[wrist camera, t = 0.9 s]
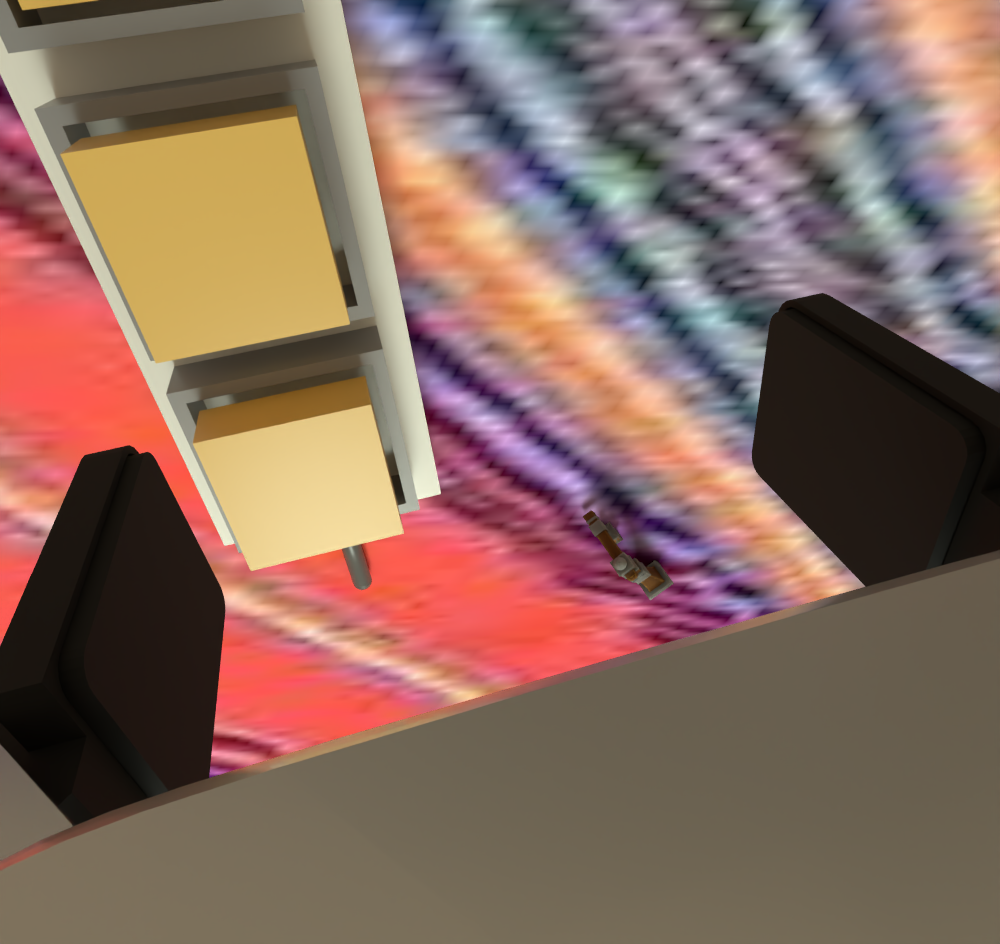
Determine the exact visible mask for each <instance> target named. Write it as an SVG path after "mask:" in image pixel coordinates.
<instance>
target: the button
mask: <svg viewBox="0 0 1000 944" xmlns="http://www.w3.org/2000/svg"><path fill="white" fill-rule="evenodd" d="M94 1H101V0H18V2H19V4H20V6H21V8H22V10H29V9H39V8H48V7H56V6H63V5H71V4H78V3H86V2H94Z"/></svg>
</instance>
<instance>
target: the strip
mask: <svg viewBox="0 0 1000 944" xmlns="http://www.w3.org/2000/svg"><path fill="white" fill-rule="evenodd" d="M0 74H1V77H2V79H3V81H4V83H5V85H6V87H7V89H8V91H9V93H10V95H11V98H12V100H13V102H14V104H15V106H16V108H17V110H18V112H19V114H20V117H21V119H22V121H23V123H24V125H25V127H26V129H27V131H28V133H29V135H30V138H31V140H32V142H33V144H34V146H35V148H36V150H37V152H38V154H39V156H40V159H41V161H42V163H43V165H44V167H45V169H46V171H47V173H48V175H49V178H50V180H51V182H52V184H53V186H54V188H55V190H56V192H57V194H58V196H59V199H60V201H61V203H62V205H63V207H64V209H65V211H66V213H67V215H68V217H69V220H70V222H71V224H72V226H73V228H74V230H75V232H76V234H77V236H78V238H79V241H80V243H81V245H82V247H83V249H84V251H85V253H86V255H87V257H88V260H89V262H90V264H91V266H92V268H93V270H94V272H95V274H96V276H97V278H98V281H99V283H100V285H101V287H102V289H103V291H104V293H105V295H106V297H107V299H108V302H109V304H110V306H111V308H112V310H113V312H114V314H115V316H116V318H117V320H118V323H119V325H120V327H121V329H122V331H123V333H124V335H125V337H126V339H127V342H128V344H129V346H130V348H131V350H132V352H133V354H134V356H135V358H136V360H137V363H138V365H139V367H140V369H141V371H142V373H143V375H144V377H145V379H146V381H147V384H148V386H149V388H150V390H151V392H152V394H153V396H154V398H155V400H156V403H157V405H158V407H159V409H160V411H161V413H162V415H163V417H164V419H165V421H166V424H167V426H168V428H169V430H170V432H171V434H172V436H173V438H174V440H175V442H176V445H177V447H178V449H179V451H180V453H181V455H182V457H183V459H184V461H185V463H186V466H187V468H188V470H189V472H190V474H191V476H192V478H193V480H194V482H195V485H196V487H197V489H198V491H199V493H200V495H201V497H202V499H203V501H204V503H205V506H206V508H207V510H208V512H209V514H210V516H211V518H212V520H213V522H214V524H215V527H216V529H217V531H218V533H219V535H220V537H221V539H222V541H223V543H224V546H226V545H230V544H234V543H235V545H236V547H237V549H238V552H239V553H242V550H241V548H240V546H239V544H238V542H237V540H236V537H235V535H234V533H233V531H232V529H231V526H230V524H229V522H228V520H227V518H226V515H225V513H224V511H223V509H222V507H221V505H220V502H219V500H218V498H217V496H216V494H215V491H214V489H213V487H212V485H211V483H210V481H209V478H208V476H207V474H206V472H205V470H204V467H203V465H202V463H201V461H200V459H199V457H198V454H197V452H196V450H195V448H194V446H193V439H194V434H195V430H196V425H197V420H198V415H199V411H202V410H207V409H211V408H216V407H221V406H225V405H230V404H235V403H239V402H244V401H249V400H254V399H258V398H263V397H268V396H272V395H277V394H282V393H286V392H291V391H296V390H301V389H305V388H310V387H315V386H319V385H324V384H329V383H333V382H338V381H343V380H347V379H352V378H357V377H362V376H365V377H366V381H367V385H368V389H369V393H370V397H371V400H372V404H373V408H374V412H375V416H376V420H377V424H378V428H379V432H380V436H381V440H382V444H383V448H384V451H385V455H386V459H387V463H388V467H389V471H390V475H391V479H392V483H393V487H394V491H395V495H396V499H397V503H398V508H399V512H400V514H403V513H407V512H411V511H416V510H420V508H419V504H418V499H422V498H426V497H430V496H434V495H438V494H441V491H440V487H439V482H438V477H437V472H436V467H435V462H434V457H433V452H432V447H431V442H430V437H429V432H428V427H427V423H426V418H425V413H424V408H423V403H422V398H421V393H420V388H419V383H418V378H417V373H416V368H415V364H414V359H413V354H412V349H411V344H410V339H409V334H408V329H407V324H406V319H405V314H404V309H403V304H402V300H401V295H400V290H399V285H398V280H397V275H396V270H395V265H394V260H393V255H392V250H391V245H390V241H389V236H388V231H387V226H386V221H385V216H384V211H383V206H382V201H381V196H380V191H379V186H378V182H377V177H376V172H375V167H374V162H373V157H372V152H371V147H370V142H369V137H368V132H367V127H366V122H365V118H364V113H363V108H362V103H361V98H360V93H359V88H358V83H357V78H356V73H355V68H354V63H353V59H352V54H351V49H350V44H349V39H348V34H347V29H346V24H345V19H344V14H343V9H342V4H341V0H101V1H94V2H86V3H78V4H71V5H63V6H56V7H48V8H39V9H29V10H22V8H21V6H20V4H19V2H18V0H0ZM290 105H296V106H297V110H298V114H299V118H300V122H301V126H302V130H303V134H304V138H305V142H306V145H307V149H308V153H309V157H310V161H311V165H312V169H313V173H314V177H315V181H316V185H317V189H318V193H319V196H320V200H321V204H322V208H323V212H324V216H325V220H326V224H327V228H328V232H329V236H330V240H331V244H332V247H333V251H334V255H335V259H336V263H337V267H338V271H339V275H340V279H341V283H342V287H343V291H344V295H345V298H346V304H347V309H348V315H349V320H350V324H349V325H344V326H339V327H335V328H330V329H325V330H320V331H315V332H310V333H305V334H300V335H295V336H290V337H285V338H280V339H275V340H270V341H265V342H260V343H255V344H250V345H246V346H241V347H236V348H231V349H226V350H221V351H216V352H211V353H206V354H201V355H196V356H191V357H186V358H181V359H176V360H171V361H166V362H161V363H155V360H154V358H153V356H152V354H151V352H150V350H149V347H148V345H147V343H146V341H145V339H144V336H143V334H142V332H141V330H140V328H139V325H138V323H137V321H136V319H135V317H134V315H133V312H132V310H131V308H130V306H129V304H128V301H127V299H126V297H125V295H124V293H123V291H122V288H121V286H120V284H119V282H118V280H117V277H116V275H115V273H114V271H113V269H112V267H111V264H110V262H109V260H108V258H107V256H106V253H105V251H104V249H103V247H102V245H101V242H100V240H99V238H98V236H97V234H96V232H95V229H94V227H93V225H92V223H91V221H90V218H89V216H88V214H87V212H86V210H85V208H84V205H83V203H82V201H81V199H80V197H79V194H78V192H77V190H76V188H75V186H74V184H73V181H72V179H71V177H70V175H69V173H68V170H67V168H66V166H65V164H64V162H63V159H62V157H61V155H60V154H61V153H62V152H63V151H65V150H66V149H67V148H69V147H70V146H71V145H73V144H74V143H75V142H77V141H78V140H79V139H81V138H87V137H93V136H100V135H106V134H112V133H119V132H125V131H131V130H138V129H144V128H150V127H157V126H163V125H169V124H176V123H182V122H189V121H195V120H201V119H208V118H214V117H220V116H227V115H233V114H239V113H246V112H252V111H258V110H265V109H271V108H278V107H284V106H290ZM342 551H343V554H344V557H345V560H346V563H347V566H348V569H349V572H350V575H351V578H352V581H353V584H354V586H355V587H356V588H358V589H360V590H364V589H367V588H368V587H369V586H370V585H371V582H372V579H371V575H370V572H369V569H368V565H367V562H366V559H365V556H364V553H363V549H362V546H361V544H359V545H355V546H351V547H347V548H342Z"/></svg>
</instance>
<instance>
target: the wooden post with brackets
mask: <svg viewBox="0 0 1000 944" xmlns="http://www.w3.org/2000/svg"><path fill="white" fill-rule="evenodd" d="M583 518H584V519H585V520H586V523H587V524H589V528H590V530H591V531H592V533H593V534H594V535H595V537H597V538H598V539H599V540H600V541H601V543H602V544H603V546H604V547H605V549H606V550H607V551H608V553H609V554H610V556H611V557H612V559H613V560H612V561H611V562H610V563H611V565H612V566H613V568H614V569H615V570H616V572H617V573H618V575H619V576H622V577H624V578H625V579H627V580H629V581H631V582H633V583H634V582H636V583H637V584H639V585H640V586H641V588H642V589H643V591H644V592H645V593H646V595H647V596H648V598H649V599H650V600H651V599H653V598H654V597H655V596H657V595H658V594H660V593H661V592H662V591H664V590H665V589H667V588H668V587H669V586H671V585H672V584H673V582H672V580H671V579H670V578H669V576H668V575H667V574H666V572H665V571H664V569H663V568H662V567H661V565H660V564H659V562H656V561H653V562H652V563H651V564H649V565H648V566H647V567H645V566H644V564H643V563H642V562H639V561H638V560H637V559H635V558H634V559H633V560H632V558H631V557H630V556H629V555H626V554H625V553H624V552H623V553H622V551H621V550H620V548H619V547H618V546H617V544H618V543H619V542H620V541H622V540H623V538H622V537H621V536H620V534H619V533H618V531H617V530H616V529H615V528H613V526H612V525H611V523H610V522H608V523H607V524H606V525H604V523H603V522H602V521H600V520H599V518H598V517H597V516H596V514H595V513H594V512H593V511H589V512H588V513H587V514H585V515H584V516H583Z"/></svg>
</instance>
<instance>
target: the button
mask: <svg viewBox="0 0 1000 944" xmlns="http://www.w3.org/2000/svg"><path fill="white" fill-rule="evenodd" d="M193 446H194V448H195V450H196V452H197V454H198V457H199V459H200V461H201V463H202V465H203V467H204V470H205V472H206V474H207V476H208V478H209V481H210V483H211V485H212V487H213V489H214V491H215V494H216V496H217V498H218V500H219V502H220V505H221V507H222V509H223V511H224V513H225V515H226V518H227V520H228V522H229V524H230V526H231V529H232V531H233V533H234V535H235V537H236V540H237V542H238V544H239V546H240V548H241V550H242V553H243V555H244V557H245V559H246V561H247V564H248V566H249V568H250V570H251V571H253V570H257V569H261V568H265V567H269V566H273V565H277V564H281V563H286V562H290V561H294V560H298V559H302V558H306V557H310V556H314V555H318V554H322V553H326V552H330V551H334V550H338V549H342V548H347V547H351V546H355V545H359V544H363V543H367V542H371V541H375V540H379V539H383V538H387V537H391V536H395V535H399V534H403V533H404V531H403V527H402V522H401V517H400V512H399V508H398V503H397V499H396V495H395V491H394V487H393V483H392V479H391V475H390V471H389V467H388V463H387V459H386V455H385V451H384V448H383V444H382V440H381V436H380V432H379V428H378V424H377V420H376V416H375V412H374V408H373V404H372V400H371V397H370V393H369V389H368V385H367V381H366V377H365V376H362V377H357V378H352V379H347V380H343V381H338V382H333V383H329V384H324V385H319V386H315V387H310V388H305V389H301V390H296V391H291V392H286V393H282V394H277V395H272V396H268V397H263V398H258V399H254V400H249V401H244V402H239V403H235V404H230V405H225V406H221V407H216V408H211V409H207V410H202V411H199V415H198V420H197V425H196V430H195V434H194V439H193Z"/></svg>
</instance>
